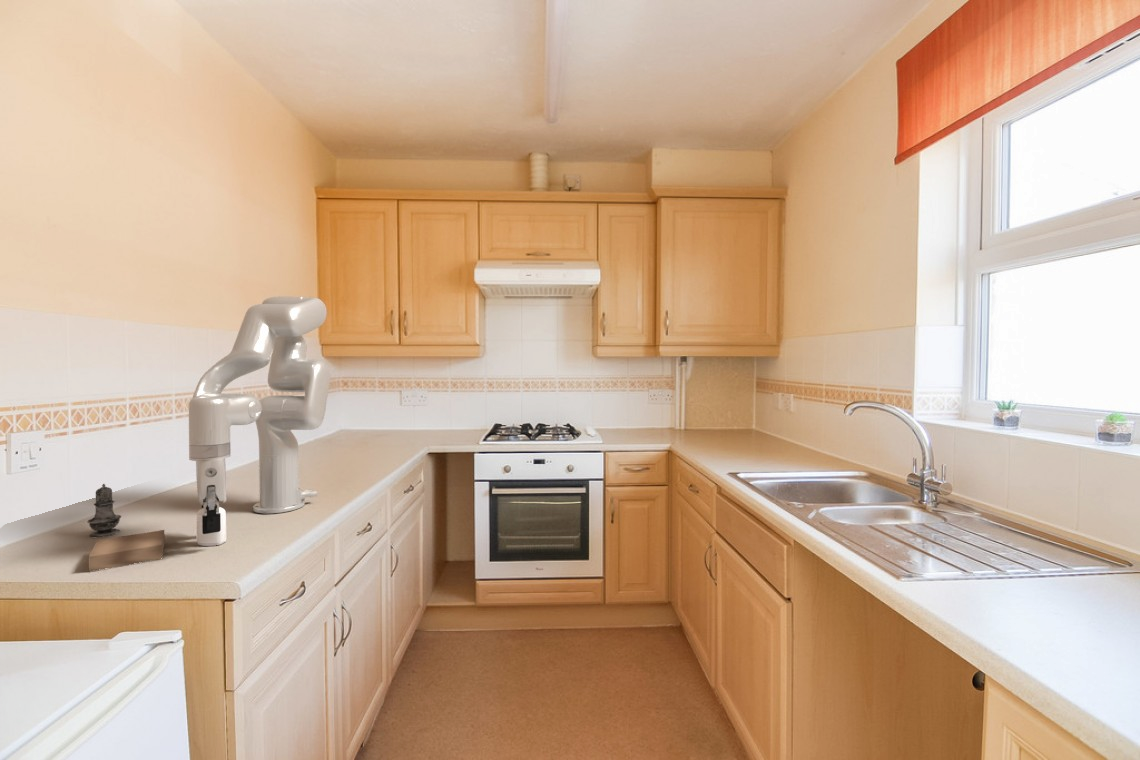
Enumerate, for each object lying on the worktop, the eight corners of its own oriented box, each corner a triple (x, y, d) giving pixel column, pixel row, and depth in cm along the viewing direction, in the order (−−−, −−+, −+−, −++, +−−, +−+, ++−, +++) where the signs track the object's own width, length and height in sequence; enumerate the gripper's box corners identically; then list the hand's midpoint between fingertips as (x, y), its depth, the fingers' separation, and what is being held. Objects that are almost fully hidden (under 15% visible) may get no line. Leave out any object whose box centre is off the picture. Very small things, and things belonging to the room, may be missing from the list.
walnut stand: (164, 542, 111) (164, 529, 111) (162, 558, 102) (161, 544, 102) (97, 553, 104) (97, 540, 104) (89, 572, 96) (88, 557, 96)
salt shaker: (128, 529, 119) (127, 481, 119) (103, 538, 113) (101, 487, 113) (106, 528, 120) (105, 480, 119) (80, 537, 114) (78, 486, 113)
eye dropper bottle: (206, 549, 108) (205, 495, 107) (194, 543, 111) (194, 491, 110) (228, 543, 112) (227, 491, 111) (216, 538, 115) (216, 487, 114)
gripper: (232, 455, 106) (233, 534, 106) (228, 444, 119) (228, 514, 120) (188, 459, 101) (189, 541, 102) (189, 447, 115) (190, 519, 115)
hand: (210, 526), depth 111 cm, fingers open, 9 cm apart
